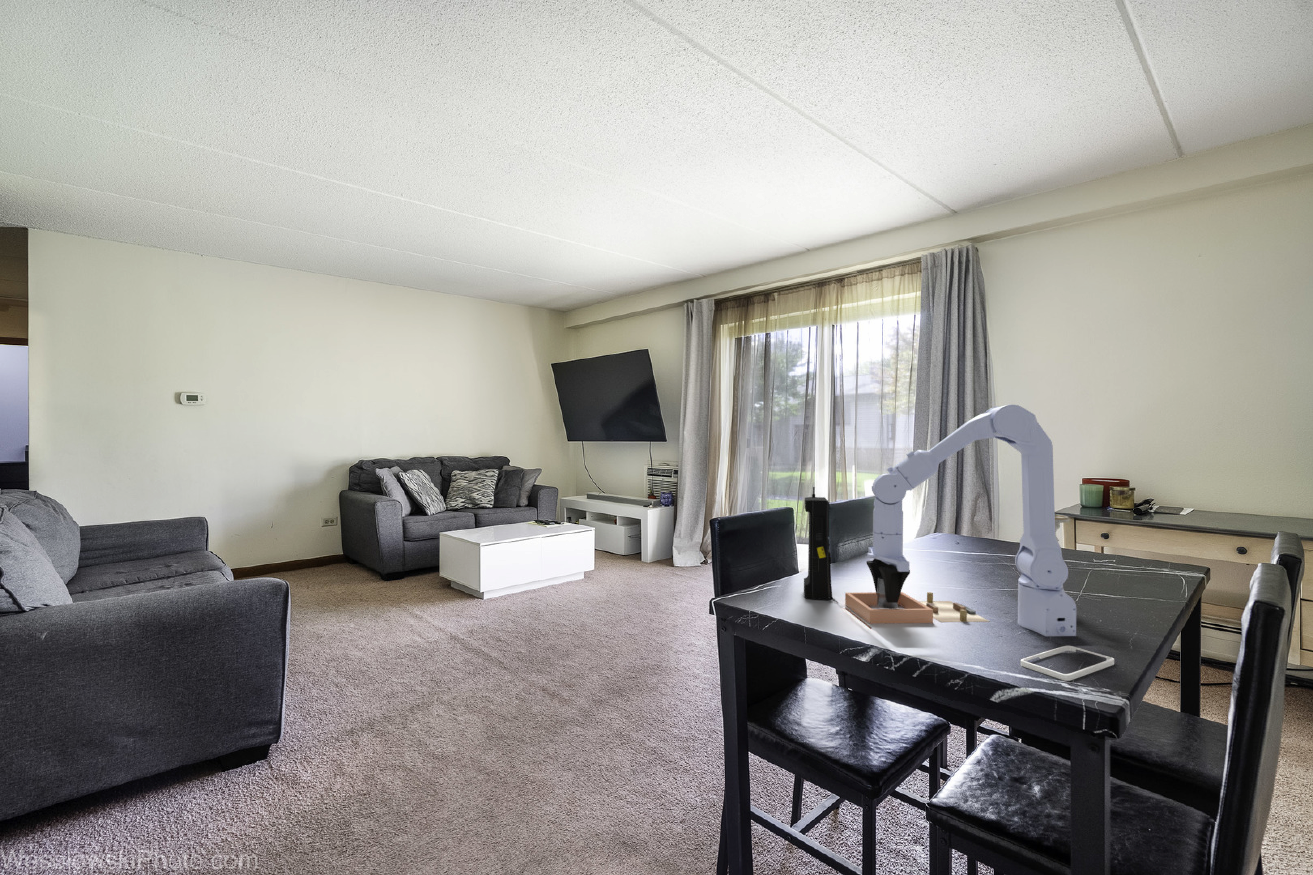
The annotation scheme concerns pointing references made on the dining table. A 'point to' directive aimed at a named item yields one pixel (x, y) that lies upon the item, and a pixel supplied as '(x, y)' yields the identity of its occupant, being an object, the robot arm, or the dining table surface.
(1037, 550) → the robot arm
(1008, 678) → the dining table surface
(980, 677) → the dining table surface
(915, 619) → the low rectangular frame
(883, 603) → the battery cell
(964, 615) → the checker cradle
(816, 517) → the portable radio
